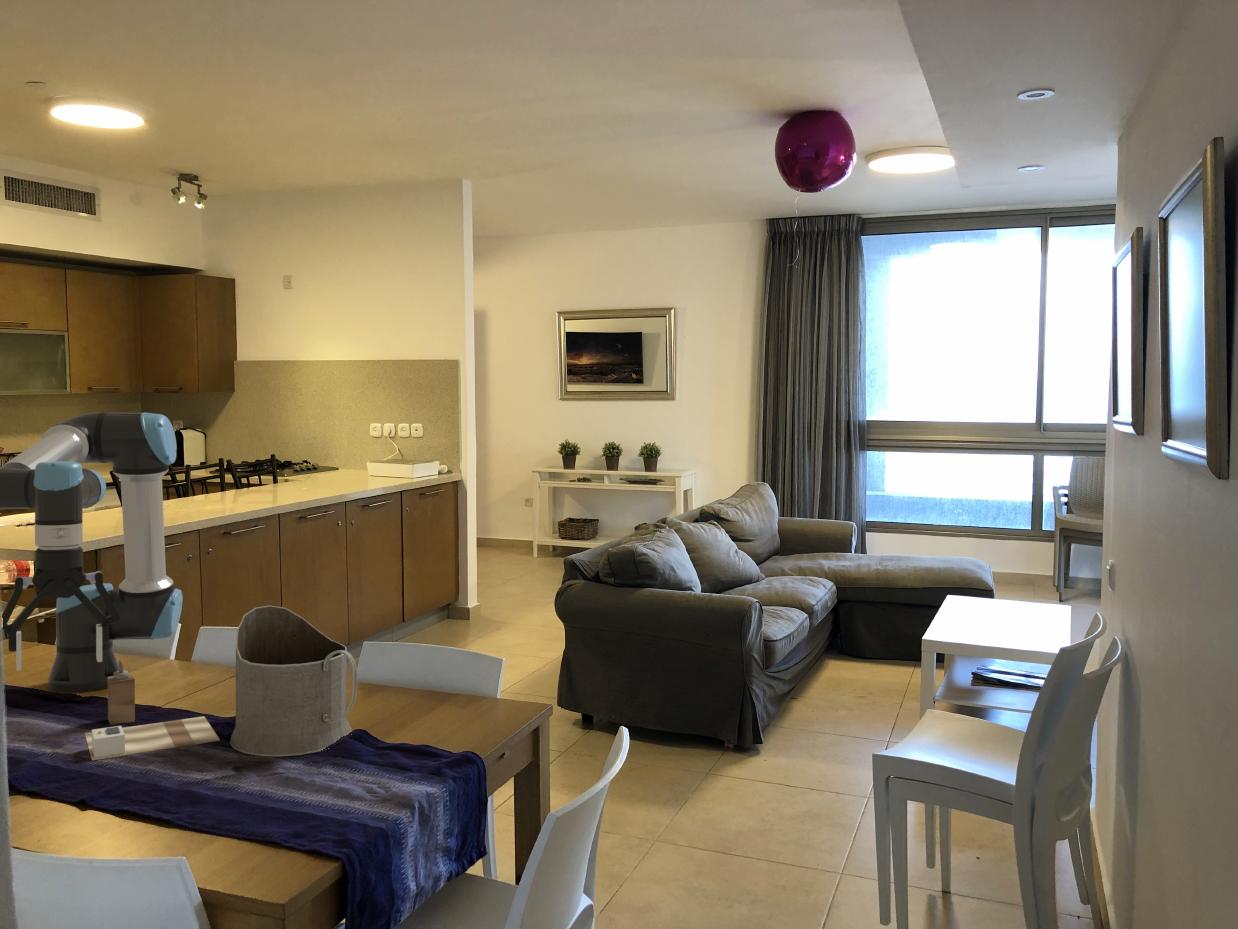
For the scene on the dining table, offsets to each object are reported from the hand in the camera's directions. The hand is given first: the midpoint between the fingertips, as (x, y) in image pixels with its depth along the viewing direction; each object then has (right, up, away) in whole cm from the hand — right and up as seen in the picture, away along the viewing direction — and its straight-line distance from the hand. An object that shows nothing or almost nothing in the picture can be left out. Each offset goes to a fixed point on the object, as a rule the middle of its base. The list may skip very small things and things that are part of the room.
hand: (59, 664), depth 176 cm
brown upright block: (-1, -17, +23) cm, 29 cm away
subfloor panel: (+10, -18, +13) cm, 25 cm away
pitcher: (+39, -19, +17) cm, 47 cm away
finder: (+6, -17, +5) cm, 19 cm away
